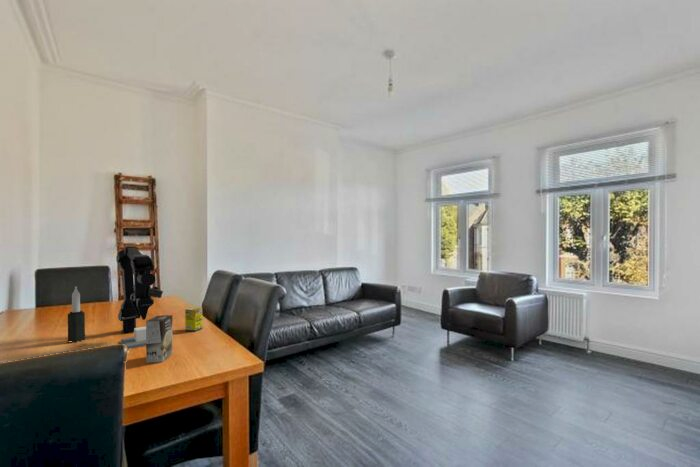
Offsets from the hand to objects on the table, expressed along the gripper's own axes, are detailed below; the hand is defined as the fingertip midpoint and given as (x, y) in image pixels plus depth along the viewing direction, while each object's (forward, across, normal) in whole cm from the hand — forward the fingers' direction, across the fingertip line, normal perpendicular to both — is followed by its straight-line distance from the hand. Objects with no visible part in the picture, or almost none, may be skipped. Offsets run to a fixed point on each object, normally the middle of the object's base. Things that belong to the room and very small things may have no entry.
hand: (141, 317), depth 160 cm
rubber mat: (+11, -2, 0) cm, 11 cm away
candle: (+11, +20, +22) cm, 32 cm away
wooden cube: (+10, -2, 0) cm, 10 cm away
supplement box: (+11, +2, -24) cm, 26 cm away
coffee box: (+11, -30, -1) cm, 32 cm away
